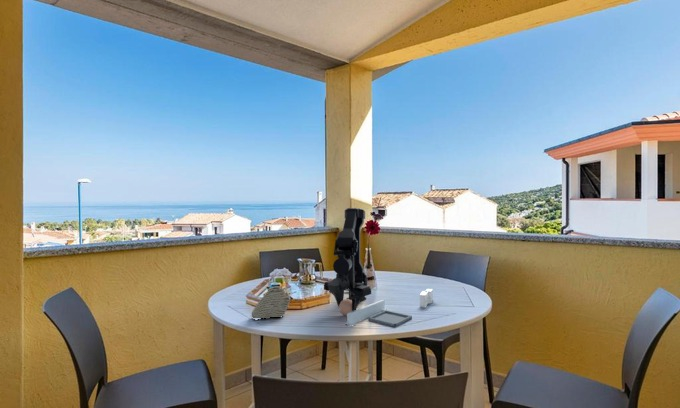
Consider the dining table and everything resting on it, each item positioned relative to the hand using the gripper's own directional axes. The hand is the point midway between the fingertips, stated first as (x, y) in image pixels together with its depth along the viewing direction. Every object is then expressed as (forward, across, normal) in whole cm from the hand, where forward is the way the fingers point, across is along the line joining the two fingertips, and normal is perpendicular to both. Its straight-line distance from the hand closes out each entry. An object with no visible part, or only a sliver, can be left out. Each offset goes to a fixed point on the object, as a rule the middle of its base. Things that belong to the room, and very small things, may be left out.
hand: (347, 311), depth 132 cm
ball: (-2, 0, 0) cm, 2 cm away
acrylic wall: (+2, +7, +3) cm, 8 cm away
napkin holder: (+2, +16, +33) cm, 37 cm away
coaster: (+2, +15, +6) cm, 16 cm away
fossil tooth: (+2, -22, -18) cm, 28 cm away
